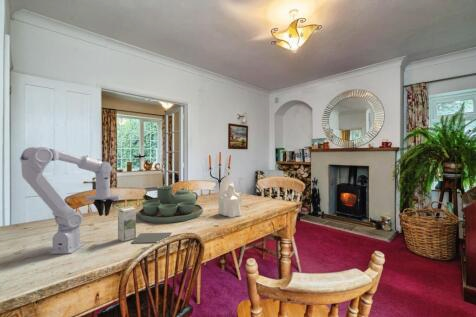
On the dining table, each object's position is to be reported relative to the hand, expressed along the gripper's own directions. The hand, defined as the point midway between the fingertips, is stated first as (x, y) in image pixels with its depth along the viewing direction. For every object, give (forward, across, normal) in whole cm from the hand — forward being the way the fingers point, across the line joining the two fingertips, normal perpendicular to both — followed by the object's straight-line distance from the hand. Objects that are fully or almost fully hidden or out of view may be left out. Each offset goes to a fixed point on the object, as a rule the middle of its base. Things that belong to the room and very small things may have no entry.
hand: (104, 215), depth 110 cm
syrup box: (+11, -12, +4) cm, 16 cm away
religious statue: (+12, -64, -36) cm, 74 cm away
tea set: (+12, -24, -39) cm, 47 cm away
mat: (+11, -23, +4) cm, 26 cm away
